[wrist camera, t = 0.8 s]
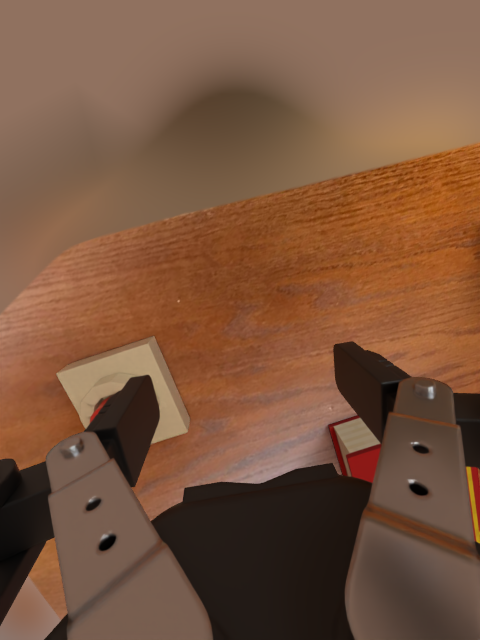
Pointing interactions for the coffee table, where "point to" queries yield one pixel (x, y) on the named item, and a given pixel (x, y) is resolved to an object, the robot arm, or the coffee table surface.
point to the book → (363, 452)
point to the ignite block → (113, 373)
